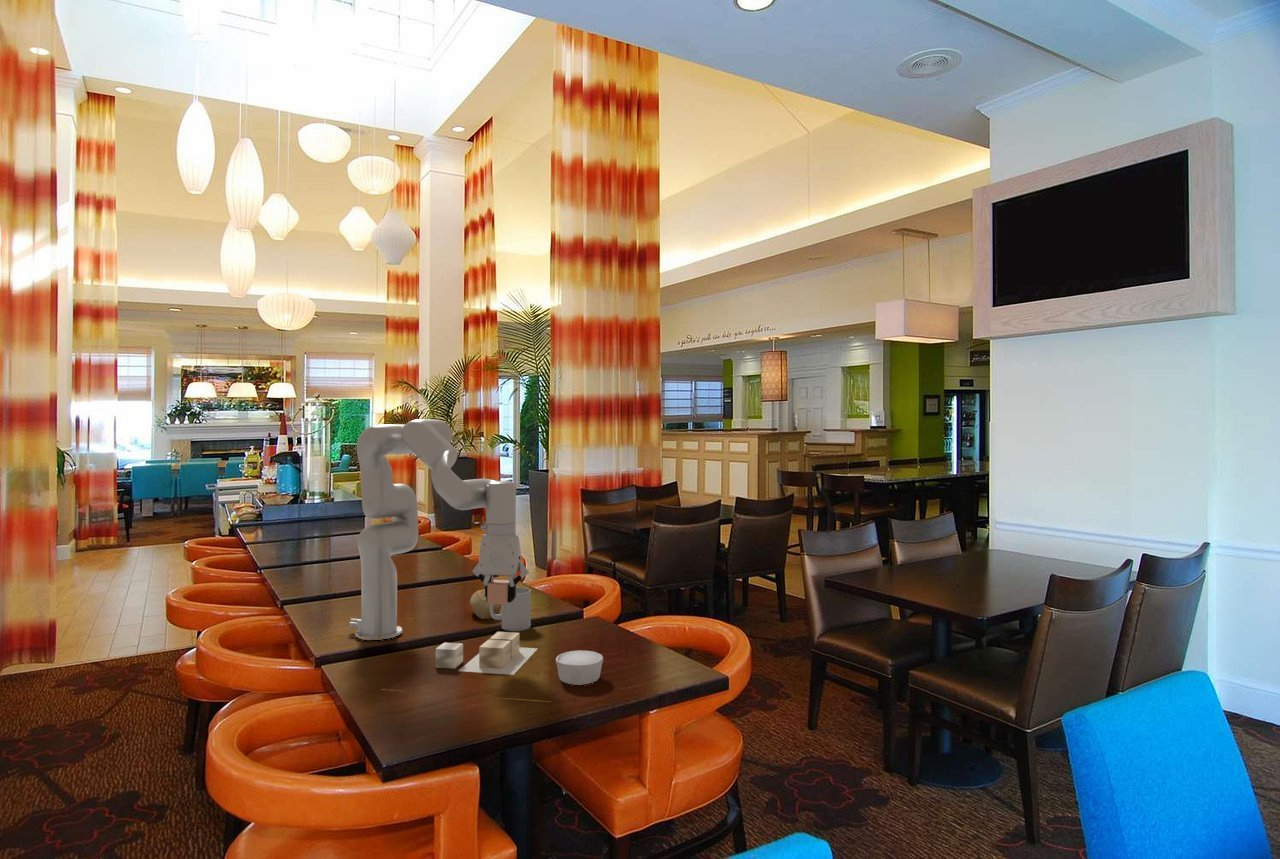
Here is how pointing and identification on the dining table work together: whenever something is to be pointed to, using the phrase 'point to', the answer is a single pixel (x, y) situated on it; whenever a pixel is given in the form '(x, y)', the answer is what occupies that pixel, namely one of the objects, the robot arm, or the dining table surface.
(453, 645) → the birch cube
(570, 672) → the ramekin
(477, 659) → the felt mat
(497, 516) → the robot arm
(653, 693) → the dining table surface
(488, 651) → the maple block
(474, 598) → the bread roll
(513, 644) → the maple block
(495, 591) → the terracotta cube
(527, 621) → the mug
